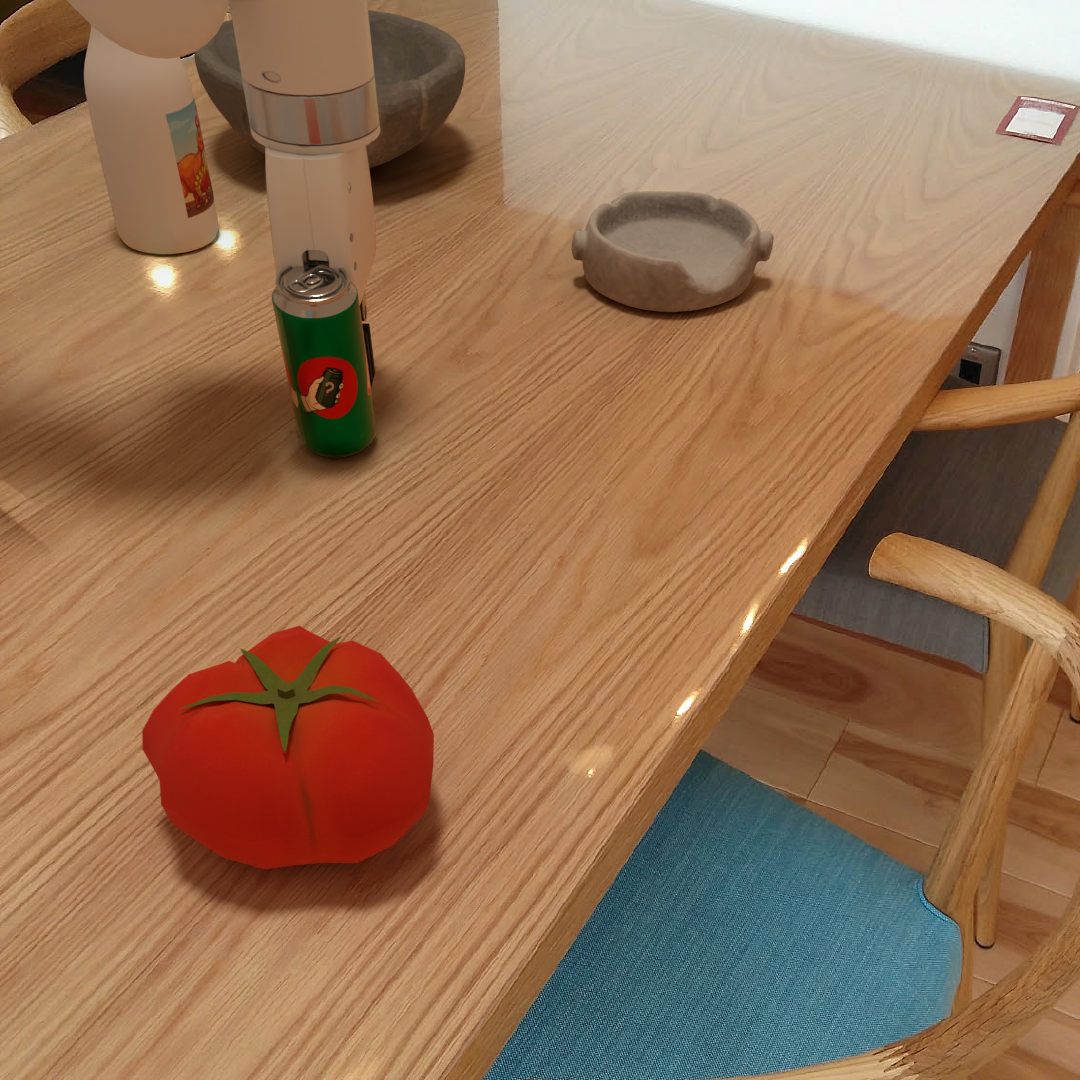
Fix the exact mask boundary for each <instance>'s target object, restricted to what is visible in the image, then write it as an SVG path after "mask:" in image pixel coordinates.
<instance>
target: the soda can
mask: <svg viewBox="0 0 1080 1080" xmlns="http://www.w3.org/2000/svg"><path fill="white" fill-rule="evenodd" d="M274 281H275V282H274V283H275V284H274V285H275V286H274V288H273V290H272V294H271V301H272V302H271V303H272V307H273V312H274V318H275V323H276V328H277V334H278V339H279V344H280V349H281V354H282V360H283V365H284V370H285V375H286V380H287V385H288V390H289V391H288V392H289V395H290V401H291V406H292V411H293V416H294V422H295V426H296V432H297V437H298V439H299V441H300V443H301V444H302V445H303V446H304V447H305V448H306V449H308V450H309V451H311V452H313V453H315V454H317V455H319V456H321V457H326V458H330V459H331V458H333V459H339V458H347V457H352V456H354V455H357V454H359V453H360V452H362V451H363V450H364V449H366V448H367V447H368V446H369V445H370V444H371V442H372V441H373V440H374V439H375V436H376V434H377V423H376V415H375V408H374V407H375V406H374V401H373V394H372V386H371V385H370V377H369V370H368V363H367V355H366V348H365V341H364V333H363V326H362V323H363V321H362V319H361V311H360V304H359V296H358V291H357V289H356V287H355V285H354V284H353V283H352V282H351V281H350V278H349V275H348V273H347V272H346V271H345V270H344V269H343V268H339V272H337V271H336V270H335V269H333V268H330V267H329V262H328V261H322V260H306V261H304V266H298V267H296V268H294V269H293V268H292V266H290V265H289V266H287V267H285V268H284V269H282V270H281V271H280V272H279V273H278V275H277V277H276V276H275V280H274Z"/></svg>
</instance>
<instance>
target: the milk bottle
mask: <svg viewBox="0 0 1080 1080" xmlns="http://www.w3.org/2000/svg"><path fill="white" fill-rule="evenodd" d="M88 39H89V40H88V43H87V49H86V53H85V60H84V66H83V67H84V68H83V84H84V90H85V91H84V92H85V98H86V103H87V107H88V112H89V117H90V122H91V126H92V131H93V136H94V139H95V143H96V144H95V145H96V149H97V152H98V157H99V162H100V165H101V169H102V173H103V177H104V183H105V186H106V190H107V194H108V199H109V203H110V208H111V211H112V215H113V219H114V224H115V227H116V231H117V234H118V236H119V238H120V239H121V241H122V242H123V243H124V244H125V245H126V246H127V247H129V248H131V249H133V250H135V251H138V252H141V253H147V254H152V255H153V254H155V255H173V254H174V255H176V254H182V253H188V252H191V251H195V250H199V249H201V248H203V247H205V246H207V245H209V244H210V243H212V242H213V241H214V240H215V239H216V238H217V235H218V233H219V229H220V226H219V219H218V213H217V207H216V202H215V201H216V200H215V196H214V191H213V185H212V180H211V175H210V169H209V164H208V159H207V154H206V149H205V144H204V138H203V133H202V129H201V123H200V118H199V113H198V108H197V103H196V100H195V95H194V91H193V87H192V84H191V80H190V77H189V74H188V72H187V69H186V67H185V65H184V63H183V61H182V59H181V57H177V58H170V59H163V58H151V57H147V56H143V55H139V54H136V53H134V52H132V51H130V50H127V49H125V48H123V47H121V46H119V45H118V44H116V43H115V42H113V41H111V40H110V39H108V38H107V37H105V36H104V35H103V34H101V33H100V32H99V31H98V30H97V29H95V28H94V27H93V26H92V25H91V24H90V34H89V38H88Z"/></svg>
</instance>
